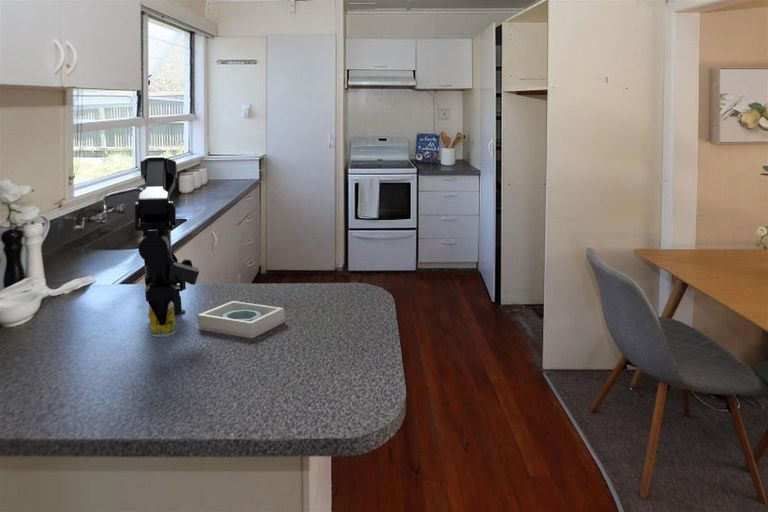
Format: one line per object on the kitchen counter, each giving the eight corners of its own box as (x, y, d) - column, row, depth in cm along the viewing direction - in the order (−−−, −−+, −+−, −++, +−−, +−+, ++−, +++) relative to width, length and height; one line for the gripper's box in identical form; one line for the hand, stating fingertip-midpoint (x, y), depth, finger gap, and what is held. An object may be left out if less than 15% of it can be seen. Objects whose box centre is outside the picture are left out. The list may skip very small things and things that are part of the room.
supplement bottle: (172, 328, 152) (169, 288, 150) (178, 335, 148) (176, 293, 146) (148, 332, 149) (144, 292, 147) (154, 339, 145) (151, 297, 143)
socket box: (198, 329, 152) (197, 314, 151) (233, 314, 163) (232, 300, 163) (252, 338, 146) (251, 323, 145) (284, 322, 157) (283, 308, 156)
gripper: (198, 259, 139) (203, 329, 142) (192, 243, 156) (196, 306, 159) (143, 263, 135) (148, 335, 138) (142, 246, 152) (147, 311, 155)
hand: (162, 321), depth 148 cm, fingers closed on supplement bottle, 5 cm apart
